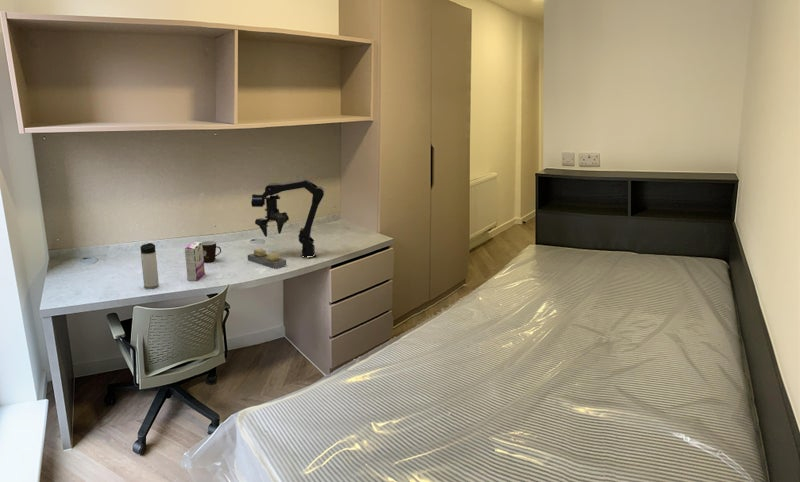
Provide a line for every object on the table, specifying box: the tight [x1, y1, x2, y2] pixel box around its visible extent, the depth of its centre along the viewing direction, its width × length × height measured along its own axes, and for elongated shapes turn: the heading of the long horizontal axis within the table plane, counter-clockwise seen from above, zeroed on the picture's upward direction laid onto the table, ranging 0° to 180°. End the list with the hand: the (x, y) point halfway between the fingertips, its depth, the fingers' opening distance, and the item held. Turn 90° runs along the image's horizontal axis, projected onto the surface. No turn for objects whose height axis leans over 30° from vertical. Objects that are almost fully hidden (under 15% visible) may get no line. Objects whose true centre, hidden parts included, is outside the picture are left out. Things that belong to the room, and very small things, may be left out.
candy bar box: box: [184, 241, 206, 282], centre depth 281 cm, size 11×5×16 cm, turn 179°
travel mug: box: [139, 242, 160, 290], centre depth 266 cm, size 6×7×20 cm
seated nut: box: [253, 248, 267, 257], centre depth 310 cm, size 4×4×6 cm
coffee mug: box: [201, 240, 222, 264], centre depth 306 cm, size 12×9×10 cm
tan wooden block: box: [266, 252, 280, 262], centre depth 304 cm, size 4×4×6 cm
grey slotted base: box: [247, 252, 287, 270], centre depth 307 cm, size 8×22×3 cm, turn 51°
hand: (272, 235), depth 316 cm, fingers open, 9 cm apart
